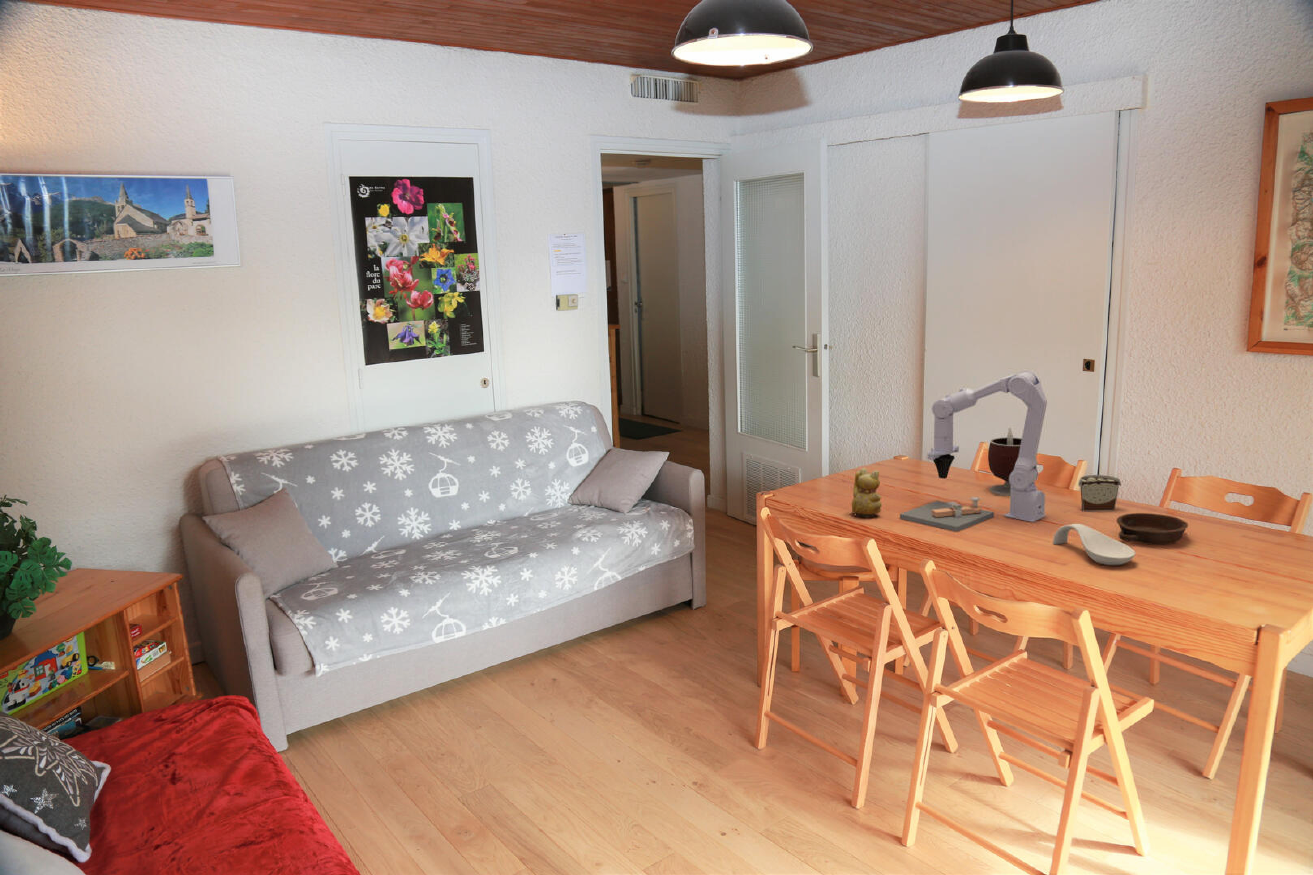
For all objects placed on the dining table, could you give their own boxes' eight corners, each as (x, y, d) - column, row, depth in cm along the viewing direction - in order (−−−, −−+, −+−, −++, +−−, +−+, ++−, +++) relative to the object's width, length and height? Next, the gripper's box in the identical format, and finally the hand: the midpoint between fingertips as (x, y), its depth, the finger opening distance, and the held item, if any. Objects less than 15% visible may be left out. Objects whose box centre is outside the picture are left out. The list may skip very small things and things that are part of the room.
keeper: (953, 512, 288) (953, 501, 287) (961, 517, 283) (961, 505, 282) (947, 513, 288) (947, 502, 287) (955, 517, 283) (955, 506, 282)
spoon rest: (1144, 565, 241) (1146, 539, 240) (1109, 573, 237) (1111, 546, 236) (1074, 540, 263) (1075, 516, 261) (1041, 547, 259) (1042, 522, 257)
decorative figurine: (885, 514, 294) (885, 468, 291) (873, 521, 288) (873, 473, 285) (857, 510, 301) (857, 464, 297) (845, 516, 294) (845, 470, 291)
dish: (1095, 535, 266) (1096, 519, 265) (1153, 524, 273) (1154, 508, 272) (1147, 553, 250) (1148, 535, 249) (1207, 540, 257) (1208, 523, 256)
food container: (1112, 505, 293) (1113, 474, 291) (1119, 510, 287) (1121, 479, 285) (1071, 505, 294) (1072, 475, 292) (1077, 511, 288) (1079, 479, 286)
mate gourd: (1032, 497, 305) (1034, 437, 301) (987, 495, 310) (989, 436, 305) (1029, 485, 320) (1031, 428, 316) (986, 484, 324) (988, 427, 320)
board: (993, 516, 287) (993, 512, 286) (957, 531, 274) (957, 526, 274) (936, 505, 302) (937, 500, 302) (899, 518, 289) (899, 514, 289)
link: (977, 509, 289) (977, 496, 288) (983, 512, 286) (983, 498, 285) (931, 514, 286) (931, 500, 285) (936, 517, 283) (937, 503, 282)
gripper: (945, 430, 303) (944, 471, 306) (919, 438, 294) (918, 480, 297) (964, 433, 298) (964, 474, 301) (938, 441, 289) (938, 483, 292)
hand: (942, 477), depth 298 cm, fingers closed
